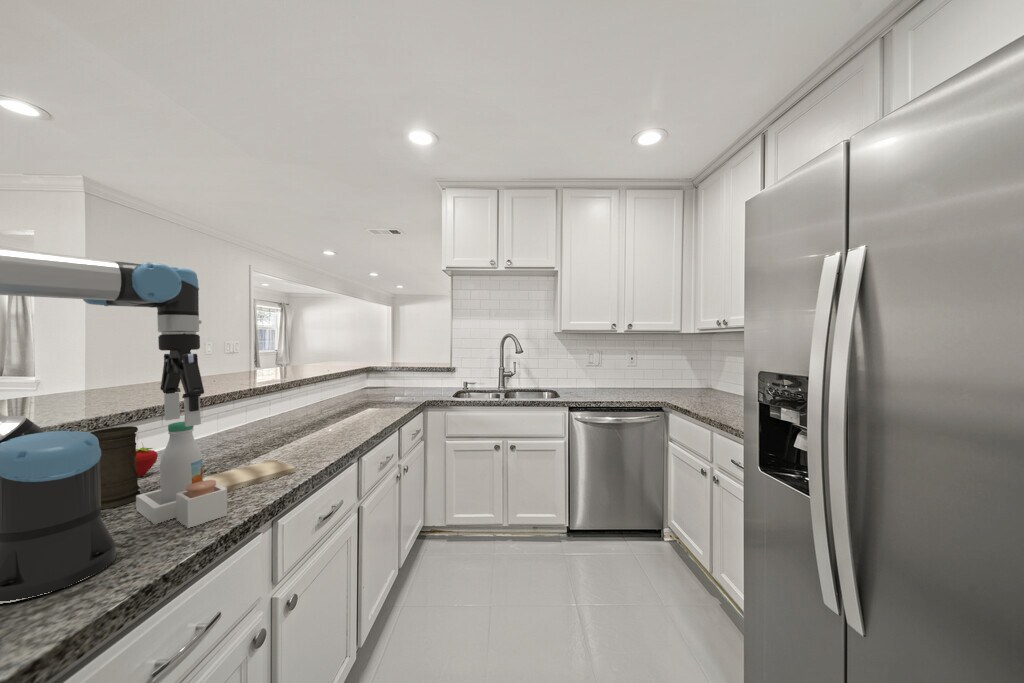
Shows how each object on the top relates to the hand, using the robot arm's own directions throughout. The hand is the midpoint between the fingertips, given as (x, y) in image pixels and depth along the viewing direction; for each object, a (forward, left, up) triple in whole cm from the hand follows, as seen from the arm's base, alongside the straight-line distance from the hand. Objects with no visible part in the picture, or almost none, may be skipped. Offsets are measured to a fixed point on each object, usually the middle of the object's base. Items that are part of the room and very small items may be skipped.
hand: (182, 422), depth 92 cm
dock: (0, -4, -20) cm, 20 cm away
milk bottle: (0, 0, -20) cm, 20 cm away
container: (-8, +18, -20) cm, 28 cm away
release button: (0, -12, -18) cm, 22 cm away
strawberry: (+1, +38, -20) cm, 43 cm away
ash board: (+18, +8, -20) cm, 28 cm away
